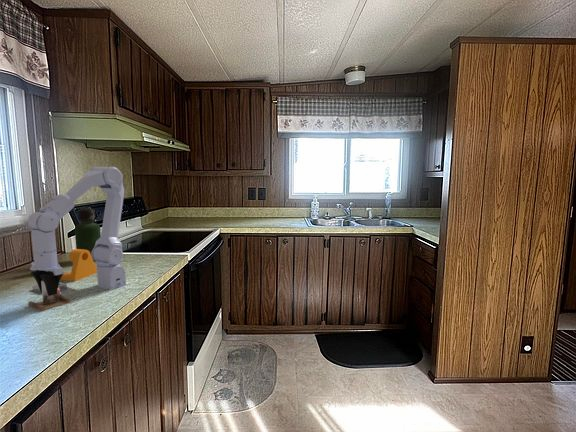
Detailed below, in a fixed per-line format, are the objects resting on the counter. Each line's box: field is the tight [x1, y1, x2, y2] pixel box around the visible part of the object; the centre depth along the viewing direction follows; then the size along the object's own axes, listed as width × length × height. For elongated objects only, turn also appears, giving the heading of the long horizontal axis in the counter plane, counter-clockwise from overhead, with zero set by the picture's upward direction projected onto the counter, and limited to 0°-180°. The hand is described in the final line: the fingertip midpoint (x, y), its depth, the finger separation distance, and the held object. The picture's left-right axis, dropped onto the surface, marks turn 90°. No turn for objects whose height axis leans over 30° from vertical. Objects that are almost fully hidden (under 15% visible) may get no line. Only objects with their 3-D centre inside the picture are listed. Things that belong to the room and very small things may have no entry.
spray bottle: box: [74, 207, 102, 262], centre depth 155 cm, size 10×10×25 cm
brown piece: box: [27, 294, 71, 312], centre depth 102 cm, size 8×8×2 cm
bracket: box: [60, 248, 97, 282], centre depth 129 cm, size 11×7×12 cm, turn 169°
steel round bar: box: [41, 280, 57, 303], centre depth 101 cm, size 4×4×7 cm
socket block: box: [31, 282, 77, 296], centre depth 114 cm, size 14×8×2 cm, turn 61°
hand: (48, 293), depth 101 cm, fingers closed on steel round bar, 4 cm apart
